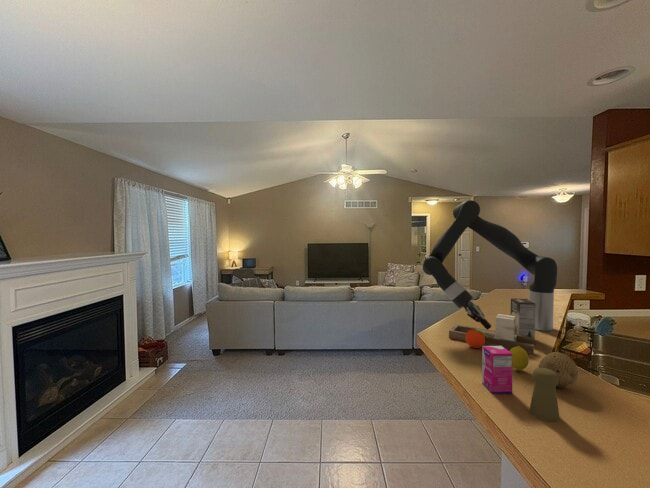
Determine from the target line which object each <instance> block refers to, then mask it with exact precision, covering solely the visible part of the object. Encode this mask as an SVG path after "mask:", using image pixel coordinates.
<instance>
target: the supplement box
mask: <svg viewBox="0 0 650 488" xmlns="http://www.w3.org/2000/svg"><path fill="white" fill-rule="evenodd" d="M481 350H482V355H481V356H482V357H481V359H482V364H481V366H482V368H481V369H482V371H481V372H482V373H481V374H482V375H481V376H482V377H481V380H482V385H483V386H485V388H487V390H489V392H490V393H491V394H495V395H497V394H498V395H500V394H501V395H504V394H505V395H506V394H507V395H513V367H512V353H511V352H509V351H510V350H509V349H505V348H504V347H502V346H489V345H483V346H482V347H481Z"/></svg>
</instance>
